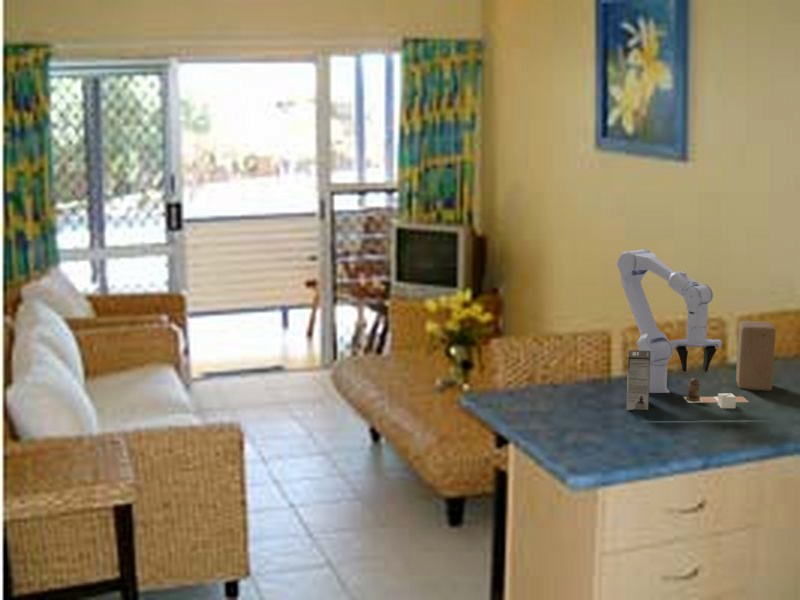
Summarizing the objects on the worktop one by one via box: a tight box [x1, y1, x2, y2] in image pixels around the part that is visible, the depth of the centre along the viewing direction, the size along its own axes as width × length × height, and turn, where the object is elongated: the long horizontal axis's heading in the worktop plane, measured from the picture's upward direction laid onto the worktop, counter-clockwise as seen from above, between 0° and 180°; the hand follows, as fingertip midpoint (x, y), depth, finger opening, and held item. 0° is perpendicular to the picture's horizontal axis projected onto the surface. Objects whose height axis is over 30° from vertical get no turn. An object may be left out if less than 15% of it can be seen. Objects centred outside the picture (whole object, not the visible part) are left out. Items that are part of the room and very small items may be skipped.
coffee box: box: [626, 349, 651, 411], centre depth 327 cm, size 9×6×16 cm
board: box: [683, 396, 750, 404], centre depth 334 cm, size 18×6×1 cm, turn 91°
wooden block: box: [735, 320, 777, 392], centre depth 348 cm, size 10×10×20 cm
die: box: [717, 392, 737, 409], centre depth 326 cm, size 4×4×4 cm
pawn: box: [686, 377, 701, 401], centre depth 333 cm, size 4×4×6 cm
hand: (694, 370), depth 332 cm, fingers open, 6 cm apart
